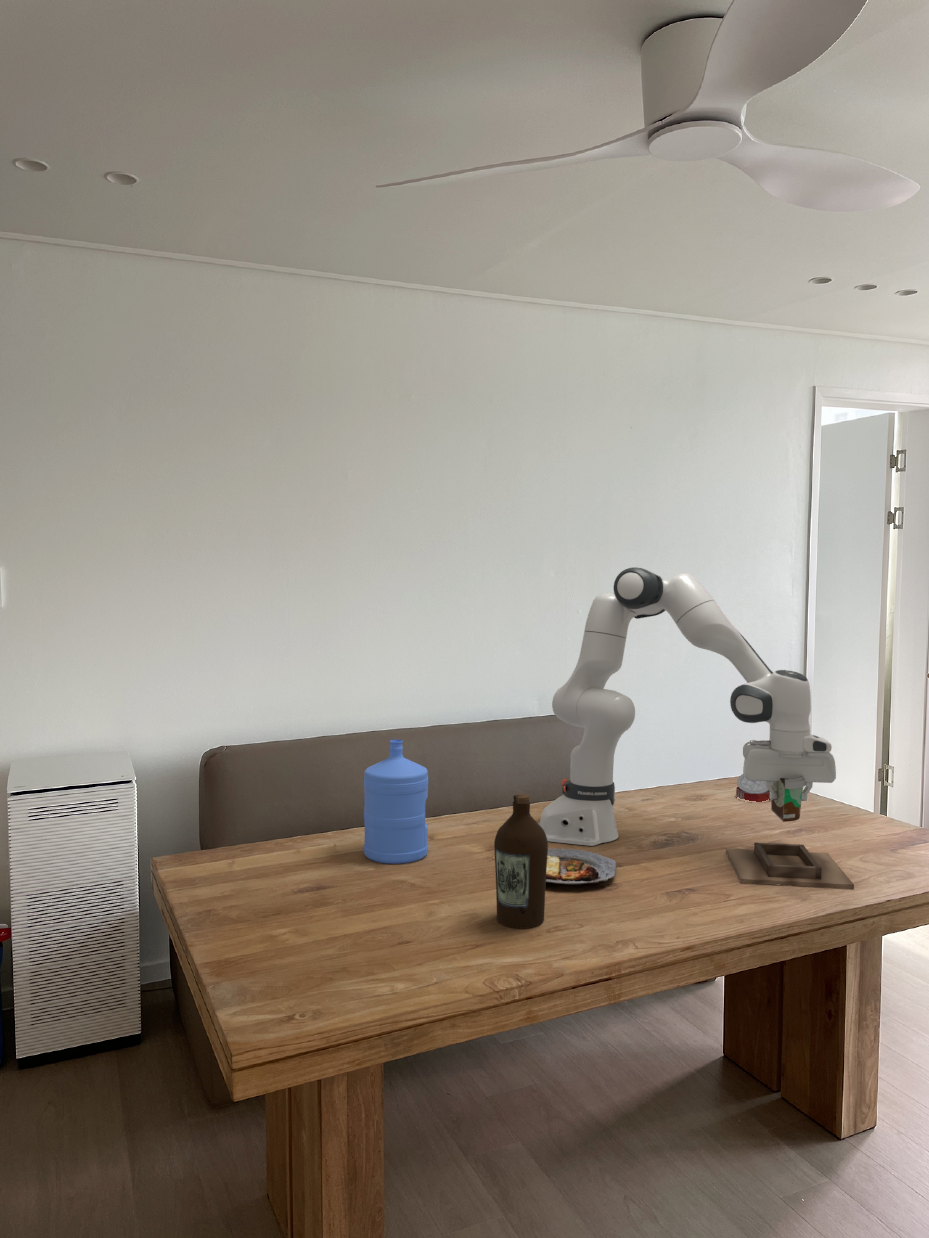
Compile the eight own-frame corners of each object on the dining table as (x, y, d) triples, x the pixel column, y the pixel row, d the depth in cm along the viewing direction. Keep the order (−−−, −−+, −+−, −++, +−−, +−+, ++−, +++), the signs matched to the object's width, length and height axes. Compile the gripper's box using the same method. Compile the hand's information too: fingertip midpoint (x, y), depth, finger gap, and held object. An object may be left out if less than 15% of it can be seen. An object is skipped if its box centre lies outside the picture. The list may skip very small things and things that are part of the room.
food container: (812, 823, 202) (813, 780, 201) (784, 823, 202) (785, 779, 202) (795, 808, 214) (796, 767, 214) (769, 808, 215) (770, 767, 214)
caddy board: (740, 883, 199) (741, 867, 199) (725, 852, 221) (726, 838, 221) (853, 889, 196) (854, 873, 196) (827, 857, 218) (828, 842, 218)
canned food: (769, 814, 274) (784, 788, 270) (746, 815, 268) (761, 789, 264) (745, 789, 282) (760, 764, 278) (723, 790, 277) (737, 764, 273)
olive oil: (508, 905, 186) (508, 786, 184) (555, 915, 180) (556, 792, 179) (484, 923, 176) (485, 798, 175) (533, 934, 171) (534, 805, 170)
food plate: (613, 895, 191) (613, 879, 191) (505, 888, 196) (505, 872, 196) (617, 861, 216) (617, 847, 216) (521, 856, 220) (521, 841, 220)
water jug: (399, 869, 208) (399, 749, 206) (350, 856, 217) (350, 741, 215) (441, 852, 220) (441, 739, 218) (393, 840, 229) (393, 732, 228)
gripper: (745, 742, 206) (744, 802, 206) (838, 744, 203) (837, 805, 204) (740, 737, 212) (739, 795, 213) (831, 739, 209) (829, 797, 210)
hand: (788, 799), depth 208 cm, fingers closed on food container, 5 cm apart
